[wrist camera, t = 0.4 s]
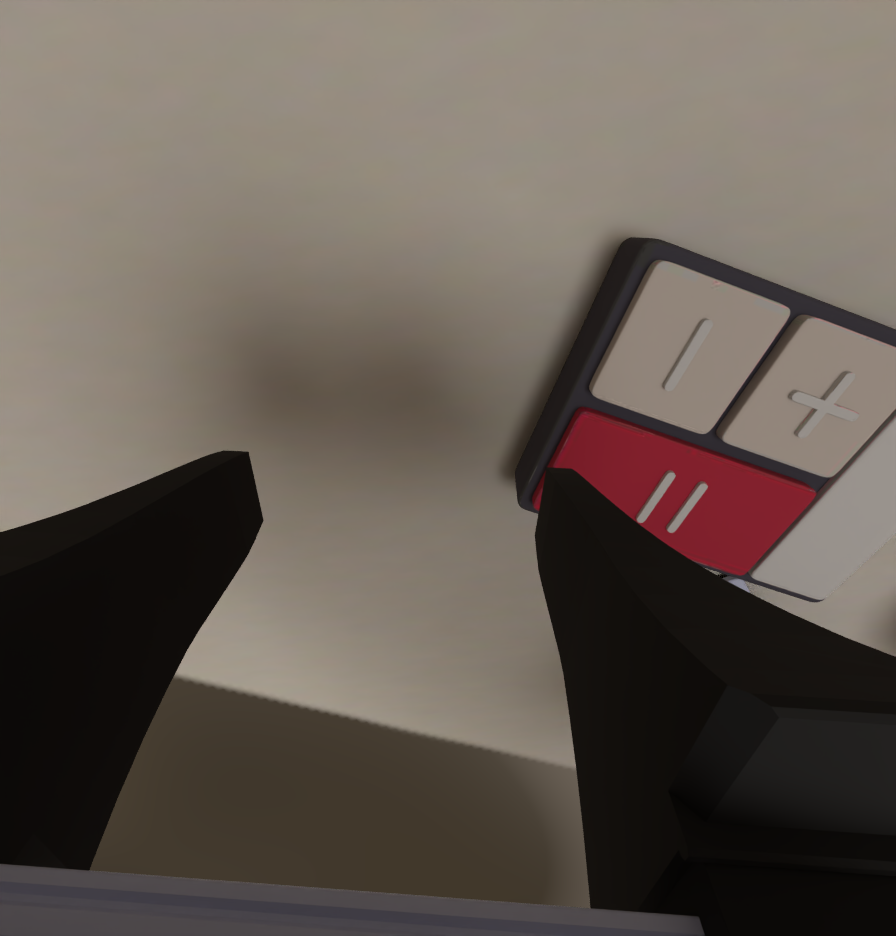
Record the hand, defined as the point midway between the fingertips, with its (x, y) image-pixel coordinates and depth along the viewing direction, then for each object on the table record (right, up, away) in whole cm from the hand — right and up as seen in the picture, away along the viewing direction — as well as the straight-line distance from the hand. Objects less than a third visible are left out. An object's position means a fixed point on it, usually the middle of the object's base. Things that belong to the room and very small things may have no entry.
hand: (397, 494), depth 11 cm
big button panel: (+13, +3, +9) cm, 16 cm away
